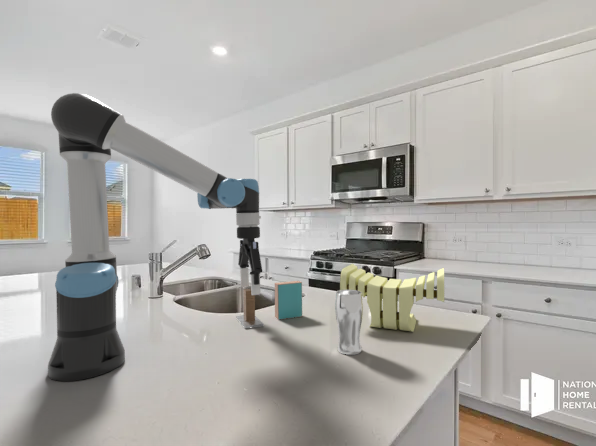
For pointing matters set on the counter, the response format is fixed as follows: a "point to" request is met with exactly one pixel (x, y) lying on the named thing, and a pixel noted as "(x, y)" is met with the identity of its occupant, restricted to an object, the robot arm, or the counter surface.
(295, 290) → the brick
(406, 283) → the slatted curved stool
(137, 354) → the counter surface
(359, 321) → the beer glass
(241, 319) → the trowel
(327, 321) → the counter surface
